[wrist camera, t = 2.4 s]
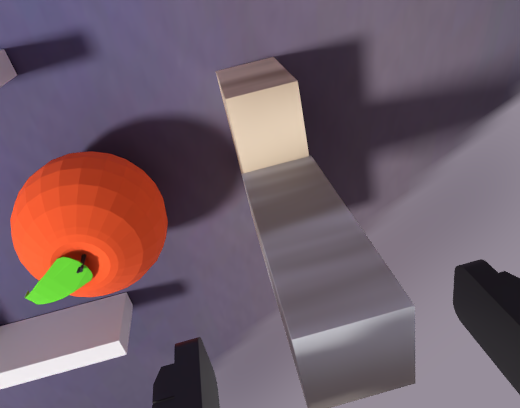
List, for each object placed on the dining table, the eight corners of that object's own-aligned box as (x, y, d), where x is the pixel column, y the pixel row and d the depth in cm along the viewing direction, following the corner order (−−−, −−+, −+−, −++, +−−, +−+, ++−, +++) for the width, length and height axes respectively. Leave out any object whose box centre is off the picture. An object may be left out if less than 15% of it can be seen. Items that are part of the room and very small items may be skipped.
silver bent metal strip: (213, 71, 21) (265, 229, 9) (275, 56, 21) (413, 190, 9) (254, 231, 26) (323, 472, 14) (303, 217, 26) (415, 445, 14)
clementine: (101, 271, 26) (77, 367, 20) (-5, 203, 22) (-73, 293, 16) (194, 189, 24) (200, 266, 18) (94, 101, 21) (59, 160, 15)
